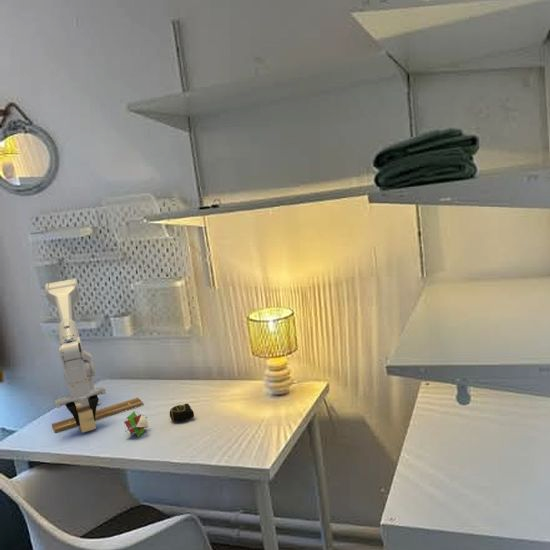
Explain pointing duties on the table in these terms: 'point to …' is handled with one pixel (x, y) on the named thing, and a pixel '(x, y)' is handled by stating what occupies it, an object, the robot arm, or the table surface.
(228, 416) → the table surface
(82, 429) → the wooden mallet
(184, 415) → the tape measure
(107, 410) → the brown wooden flat strip
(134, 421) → the geometric puzzle
